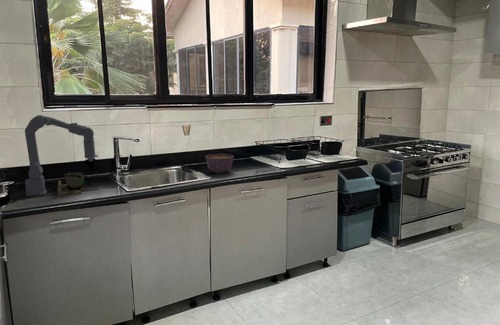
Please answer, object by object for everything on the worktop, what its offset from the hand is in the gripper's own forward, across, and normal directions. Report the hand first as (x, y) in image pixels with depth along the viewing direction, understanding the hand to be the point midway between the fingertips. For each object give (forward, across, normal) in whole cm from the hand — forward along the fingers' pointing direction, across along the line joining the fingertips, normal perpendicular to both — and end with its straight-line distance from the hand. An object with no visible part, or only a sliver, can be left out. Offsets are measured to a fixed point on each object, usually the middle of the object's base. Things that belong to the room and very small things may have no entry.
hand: (91, 171), depth 220 cm
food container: (+11, 0, +8) cm, 13 cm away
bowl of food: (+11, +8, -84) cm, 85 cm away
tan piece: (+10, 0, +12) cm, 16 cm away
